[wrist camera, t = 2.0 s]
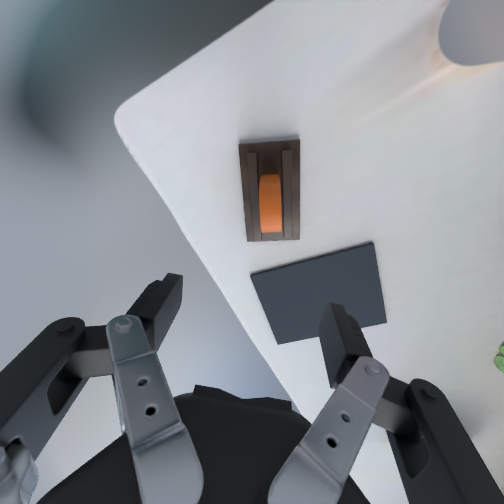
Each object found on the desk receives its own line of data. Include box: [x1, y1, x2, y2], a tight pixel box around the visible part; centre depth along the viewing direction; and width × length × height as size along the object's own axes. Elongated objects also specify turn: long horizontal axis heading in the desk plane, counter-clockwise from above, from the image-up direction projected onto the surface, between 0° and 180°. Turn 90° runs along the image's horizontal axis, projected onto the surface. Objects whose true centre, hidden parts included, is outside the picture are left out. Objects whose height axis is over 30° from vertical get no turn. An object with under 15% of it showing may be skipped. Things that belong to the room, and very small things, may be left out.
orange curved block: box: [259, 173, 282, 233], centre depth 32 cm, size 6×2×9 cm, turn 4°
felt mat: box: [250, 243, 387, 345], centre depth 44 cm, size 20×16×1 cm
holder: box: [239, 139, 300, 242], centre depth 36 cm, size 14×8×3 cm, turn 4°
